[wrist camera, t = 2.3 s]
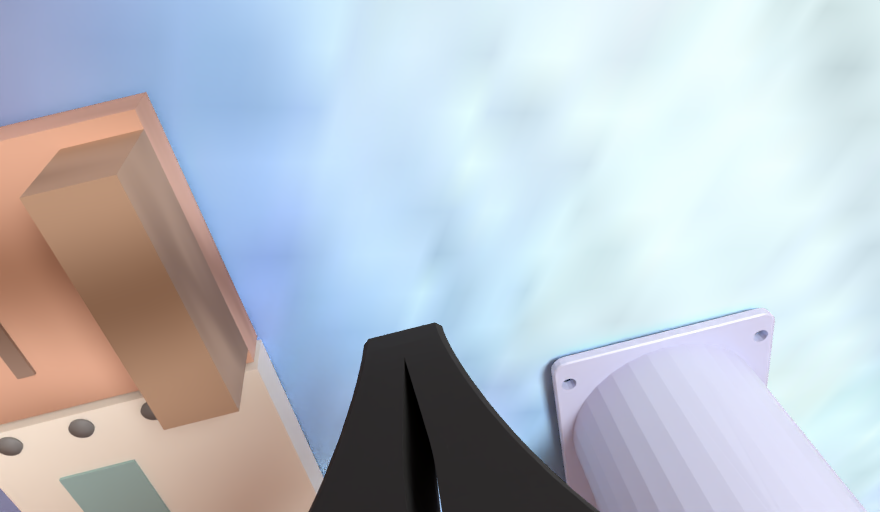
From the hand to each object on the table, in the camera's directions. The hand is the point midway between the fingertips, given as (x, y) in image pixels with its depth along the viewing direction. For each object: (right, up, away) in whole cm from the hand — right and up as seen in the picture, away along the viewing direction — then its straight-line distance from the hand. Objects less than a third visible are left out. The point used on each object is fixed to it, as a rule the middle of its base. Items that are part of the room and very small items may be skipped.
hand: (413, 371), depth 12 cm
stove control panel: (-8, -6, +12) cm, 16 cm away
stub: (-10, +2, +6) cm, 12 cm away
